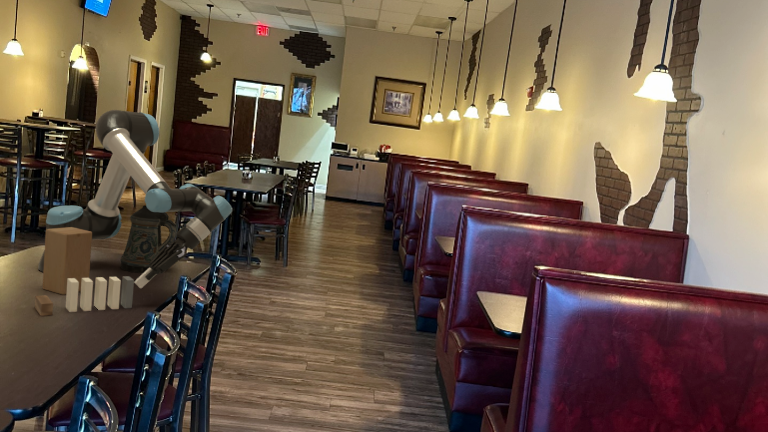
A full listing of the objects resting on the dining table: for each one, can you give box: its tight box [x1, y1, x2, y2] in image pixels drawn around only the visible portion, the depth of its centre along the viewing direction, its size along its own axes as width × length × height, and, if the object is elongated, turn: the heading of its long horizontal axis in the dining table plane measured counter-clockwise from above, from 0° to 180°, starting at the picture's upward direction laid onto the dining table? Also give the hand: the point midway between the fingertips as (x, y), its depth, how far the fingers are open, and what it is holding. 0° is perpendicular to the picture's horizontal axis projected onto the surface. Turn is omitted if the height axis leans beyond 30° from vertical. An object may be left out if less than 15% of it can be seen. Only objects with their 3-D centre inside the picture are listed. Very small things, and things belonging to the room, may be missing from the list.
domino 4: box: [106, 276, 122, 310], centre depth 201 cm, size 2×5×9 cm, turn 38°
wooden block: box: [42, 227, 93, 296], centre depth 213 cm, size 10×10×20 cm
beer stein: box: [120, 205, 177, 274], centre depth 255 cm, size 16×19×25 cm
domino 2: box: [79, 277, 94, 312], centre depth 196 cm, size 2×5×9 cm, turn 38°
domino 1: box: [65, 278, 79, 313], centre depth 194 cm, size 2×5×9 cm, turn 38°
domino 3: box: [93, 276, 108, 311], centre depth 199 cm, size 2×5×9 cm, turn 38°
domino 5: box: [120, 275, 135, 309], centre depth 203 cm, size 2×5×9 cm, turn 38°
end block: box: [34, 294, 54, 317], centre depth 189 cm, size 3×9×4 cm, turn 38°
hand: (137, 285), depth 205 cm, fingers closed
